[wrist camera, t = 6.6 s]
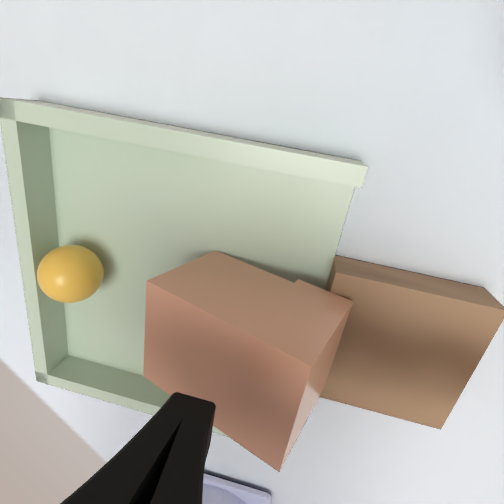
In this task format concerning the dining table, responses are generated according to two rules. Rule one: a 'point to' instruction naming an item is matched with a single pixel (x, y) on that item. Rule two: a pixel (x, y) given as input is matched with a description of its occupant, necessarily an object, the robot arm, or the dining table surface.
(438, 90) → the dining table surface
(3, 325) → the dining table surface
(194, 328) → the brown u-shaped block
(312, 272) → the tray
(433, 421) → the coaster
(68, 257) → the ball
